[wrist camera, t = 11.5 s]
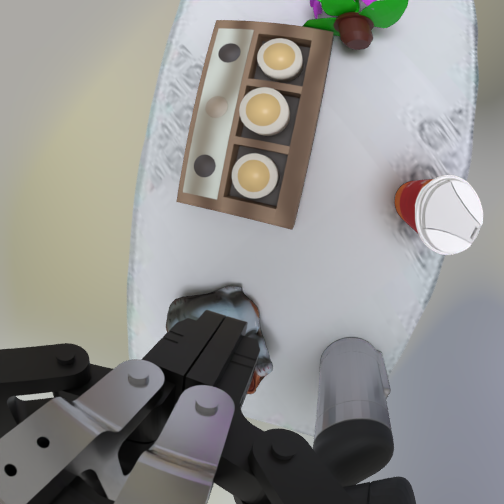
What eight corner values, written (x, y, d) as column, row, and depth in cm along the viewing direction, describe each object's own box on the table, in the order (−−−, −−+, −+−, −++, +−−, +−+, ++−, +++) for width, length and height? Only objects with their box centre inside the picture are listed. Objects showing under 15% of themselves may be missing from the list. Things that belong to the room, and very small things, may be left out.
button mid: (294, 97, 33) (291, 91, 30) (285, 139, 34) (282, 136, 31) (250, 90, 34) (244, 84, 31) (241, 131, 35) (234, 128, 32)
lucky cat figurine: (262, 280, 43) (277, 363, 32) (264, 330, 50) (276, 403, 39) (160, 290, 42) (148, 373, 31) (179, 338, 50) (175, 410, 39)
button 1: (306, 50, 32) (305, 41, 29) (299, 85, 34) (297, 78, 31) (266, 44, 33) (261, 35, 30) (258, 79, 35) (252, 72, 32)
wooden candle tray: (332, 41, 32) (333, 31, 29) (294, 225, 40) (291, 229, 37) (223, 28, 34) (215, 19, 31) (185, 199, 42) (175, 201, 39)
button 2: (283, 159, 37) (280, 158, 34) (274, 200, 39) (270, 203, 36) (242, 151, 38) (236, 149, 35) (234, 191, 40) (227, 193, 37)
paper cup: (446, 193, 34) (498, 205, 21) (420, 240, 36) (461, 272, 23) (402, 161, 34) (441, 157, 21) (376, 210, 37) (403, 231, 24)
